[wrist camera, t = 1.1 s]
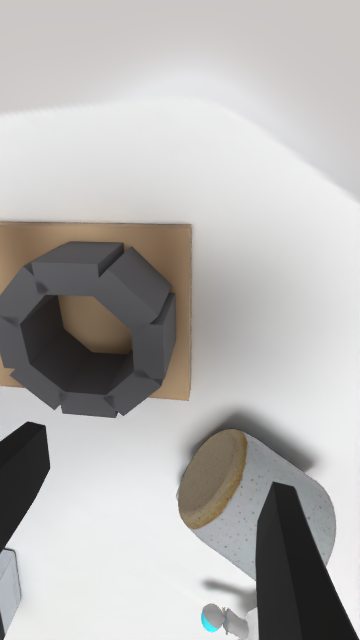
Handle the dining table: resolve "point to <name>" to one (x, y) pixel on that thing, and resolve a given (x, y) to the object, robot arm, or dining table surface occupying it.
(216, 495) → the ceramic mug
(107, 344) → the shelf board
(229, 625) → the perfume bottle
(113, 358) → the dark grey octagonal ring
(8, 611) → the tea box
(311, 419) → the dining table surface
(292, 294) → the dining table surface
